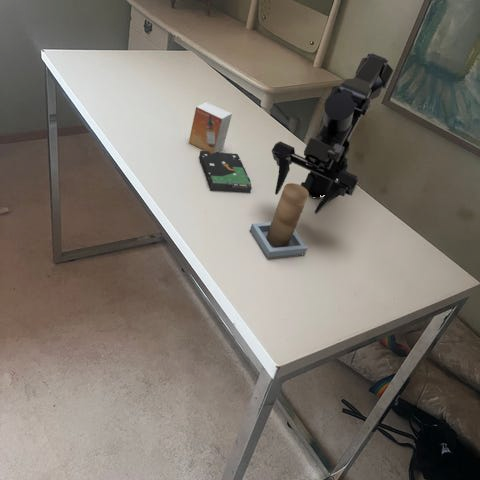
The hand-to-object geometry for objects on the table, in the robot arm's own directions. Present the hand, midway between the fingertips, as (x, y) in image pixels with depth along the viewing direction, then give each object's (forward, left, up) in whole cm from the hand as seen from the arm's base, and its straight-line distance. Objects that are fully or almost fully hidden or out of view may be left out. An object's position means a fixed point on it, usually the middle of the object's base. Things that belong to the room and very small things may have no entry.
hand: (295, 203), depth 96 cm
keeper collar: (+3, +3, -8) cm, 9 cm away
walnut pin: (+3, +3, -8) cm, 9 cm away
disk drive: (+5, -23, -9) cm, 26 cm away
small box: (+5, -37, -8) cm, 39 cm away
